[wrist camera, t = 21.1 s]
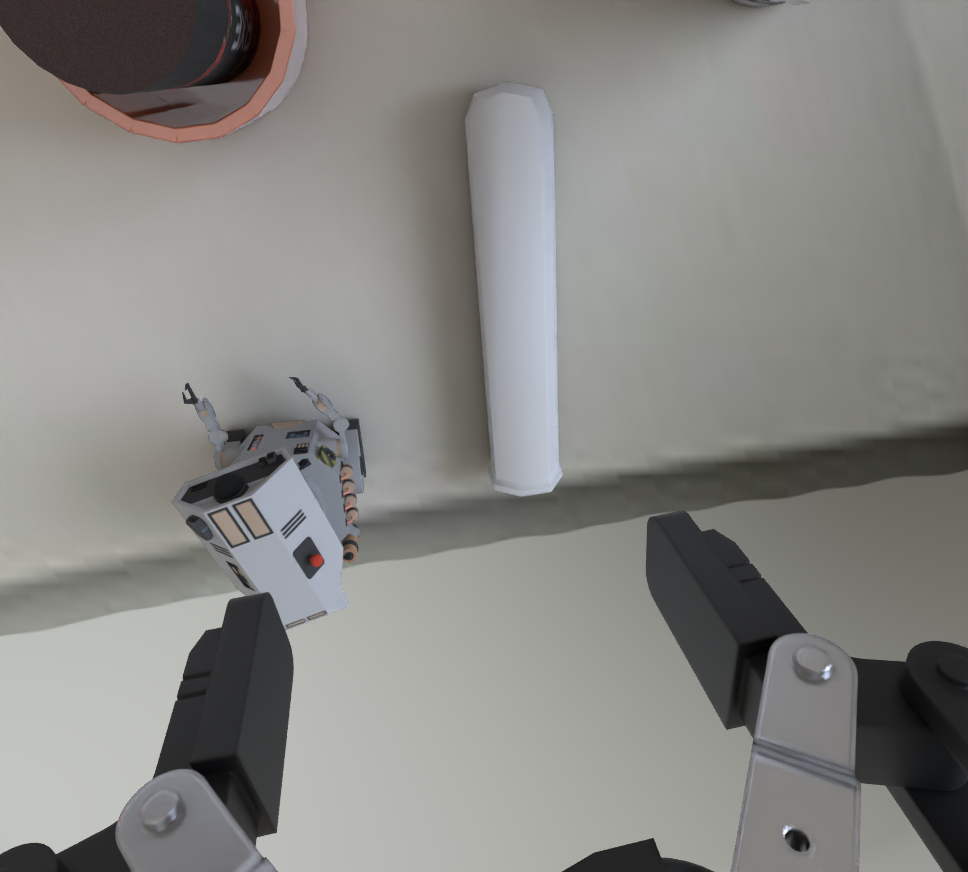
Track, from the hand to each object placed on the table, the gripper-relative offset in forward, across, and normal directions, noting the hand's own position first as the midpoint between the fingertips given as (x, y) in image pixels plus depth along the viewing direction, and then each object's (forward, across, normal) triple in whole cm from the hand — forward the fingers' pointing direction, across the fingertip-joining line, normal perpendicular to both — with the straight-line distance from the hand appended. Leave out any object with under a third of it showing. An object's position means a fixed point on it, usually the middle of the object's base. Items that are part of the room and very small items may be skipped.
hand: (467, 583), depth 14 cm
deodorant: (+30, +8, -13) cm, 33 cm away
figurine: (+30, +9, +11) cm, 33 cm away
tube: (+30, -7, +4) cm, 31 cm away
